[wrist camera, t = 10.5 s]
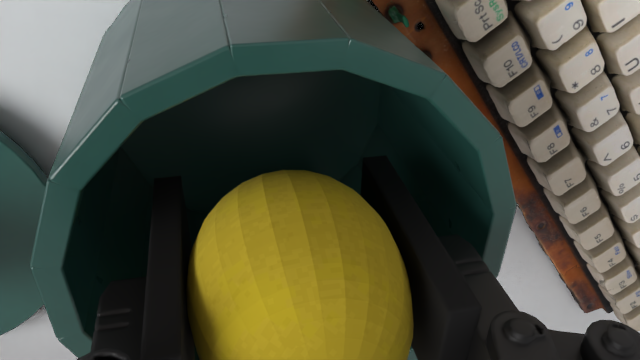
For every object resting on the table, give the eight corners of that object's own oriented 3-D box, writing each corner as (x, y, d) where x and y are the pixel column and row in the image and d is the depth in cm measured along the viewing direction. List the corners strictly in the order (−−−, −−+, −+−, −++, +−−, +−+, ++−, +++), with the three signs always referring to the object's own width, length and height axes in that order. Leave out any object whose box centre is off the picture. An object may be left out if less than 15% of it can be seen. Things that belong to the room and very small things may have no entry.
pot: (126, 236, 25) (97, 450, 16) (60, -48, 18) (-50, 60, 10) (380, 207, 27) (471, 379, 19) (404, -55, 20) (565, 26, 12)
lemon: (215, 99, 15) (241, 313, 8) (387, 147, 17) (518, 349, 10) (165, 251, 17) (153, 512, 11) (320, 277, 19) (392, 508, 13)
